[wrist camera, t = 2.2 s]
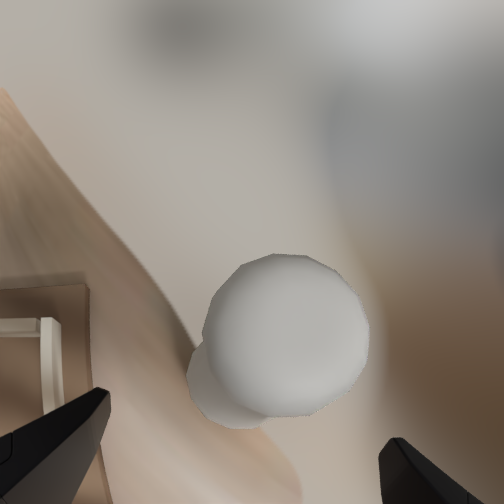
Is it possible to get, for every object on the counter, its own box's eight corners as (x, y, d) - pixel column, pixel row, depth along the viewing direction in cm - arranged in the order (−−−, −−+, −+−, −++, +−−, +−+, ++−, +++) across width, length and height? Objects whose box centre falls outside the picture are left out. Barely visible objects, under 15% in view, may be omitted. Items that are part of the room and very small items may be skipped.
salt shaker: (271, 435, 17) (393, 460, 5) (178, 414, 16) (136, 419, 5) (289, 348, 20) (405, 248, 8) (202, 326, 19) (212, 190, 8)
